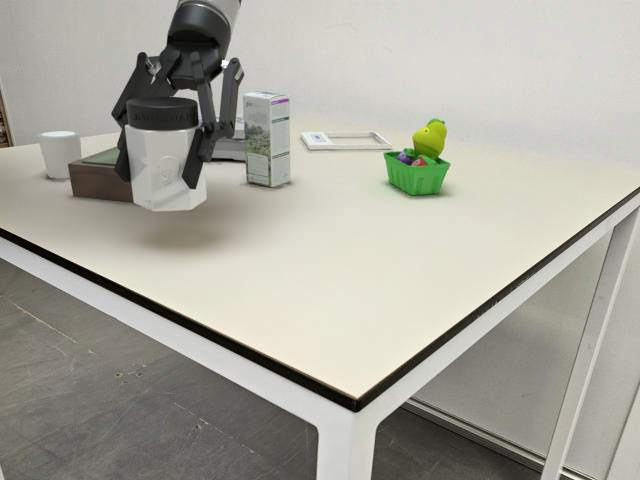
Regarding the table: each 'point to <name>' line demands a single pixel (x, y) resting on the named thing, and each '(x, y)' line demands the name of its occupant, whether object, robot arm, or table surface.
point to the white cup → (59, 151)
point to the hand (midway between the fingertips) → (154, 179)
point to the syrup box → (267, 138)
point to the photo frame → (323, 142)
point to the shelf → (99, 177)
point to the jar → (162, 152)
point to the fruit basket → (420, 161)
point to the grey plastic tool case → (230, 141)
